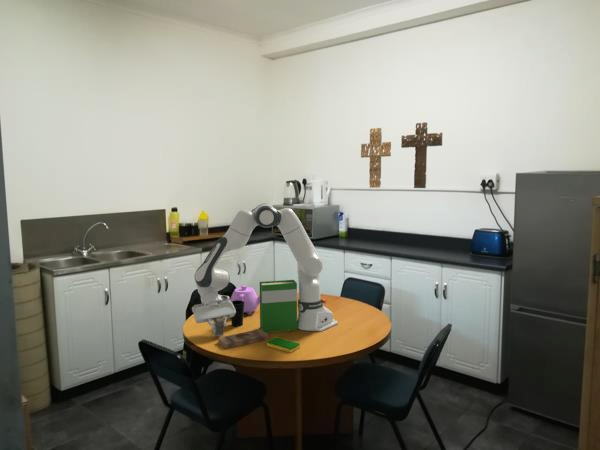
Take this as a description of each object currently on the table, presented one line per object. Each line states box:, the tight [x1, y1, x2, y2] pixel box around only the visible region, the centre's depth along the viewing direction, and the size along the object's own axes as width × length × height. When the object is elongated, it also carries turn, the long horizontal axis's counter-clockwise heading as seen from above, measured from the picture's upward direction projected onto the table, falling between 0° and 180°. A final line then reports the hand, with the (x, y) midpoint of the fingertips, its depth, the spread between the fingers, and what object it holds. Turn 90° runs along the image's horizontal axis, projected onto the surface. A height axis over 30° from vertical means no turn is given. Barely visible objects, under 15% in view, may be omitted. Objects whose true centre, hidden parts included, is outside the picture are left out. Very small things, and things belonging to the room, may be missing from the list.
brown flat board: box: [217, 328, 270, 350], centre depth 217 cm, size 22×9×2 cm, turn 123°
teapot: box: [229, 284, 260, 315], centre depth 258 cm, size 20×20×15 cm
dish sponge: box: [266, 336, 301, 353], centre depth 210 cm, size 7×14×2 cm, turn 54°
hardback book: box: [259, 279, 298, 333], centre depth 232 cm, size 18×7×24 cm, turn 103°
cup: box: [230, 300, 245, 328], centre depth 238 cm, size 8×8×12 cm
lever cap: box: [212, 318, 224, 337], centre depth 221 cm, size 4×3×8 cm
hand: (219, 327), depth 220 cm, fingers closed on lever cap, 4 cm apart
